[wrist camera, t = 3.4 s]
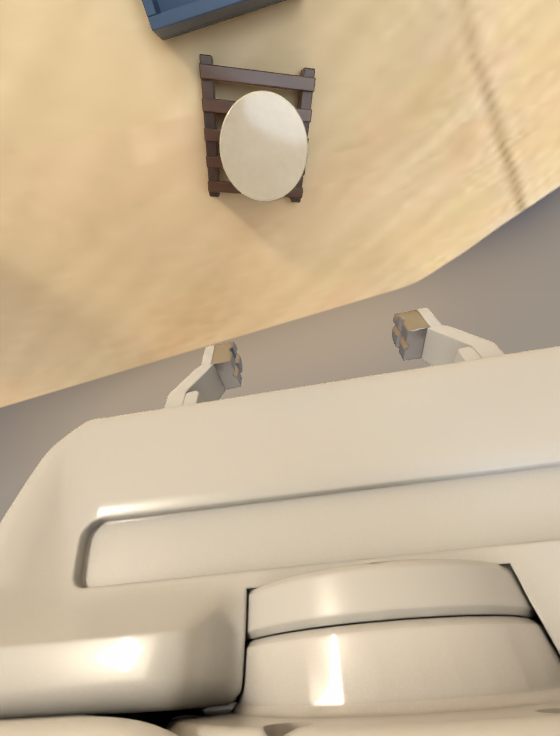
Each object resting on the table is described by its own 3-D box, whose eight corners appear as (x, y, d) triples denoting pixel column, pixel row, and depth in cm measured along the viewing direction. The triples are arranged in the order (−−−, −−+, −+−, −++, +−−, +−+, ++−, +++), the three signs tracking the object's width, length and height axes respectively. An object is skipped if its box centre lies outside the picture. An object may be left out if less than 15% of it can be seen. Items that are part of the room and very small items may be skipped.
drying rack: (298, 199, 34) (301, 204, 32) (211, 193, 32) (209, 197, 30) (311, 71, 27) (316, 67, 25) (201, 56, 25) (198, 52, 24)
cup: (284, 178, 30) (301, 204, 21) (227, 173, 29) (221, 198, 21) (290, 101, 26) (314, 96, 18) (225, 94, 25) (216, 84, 17)
